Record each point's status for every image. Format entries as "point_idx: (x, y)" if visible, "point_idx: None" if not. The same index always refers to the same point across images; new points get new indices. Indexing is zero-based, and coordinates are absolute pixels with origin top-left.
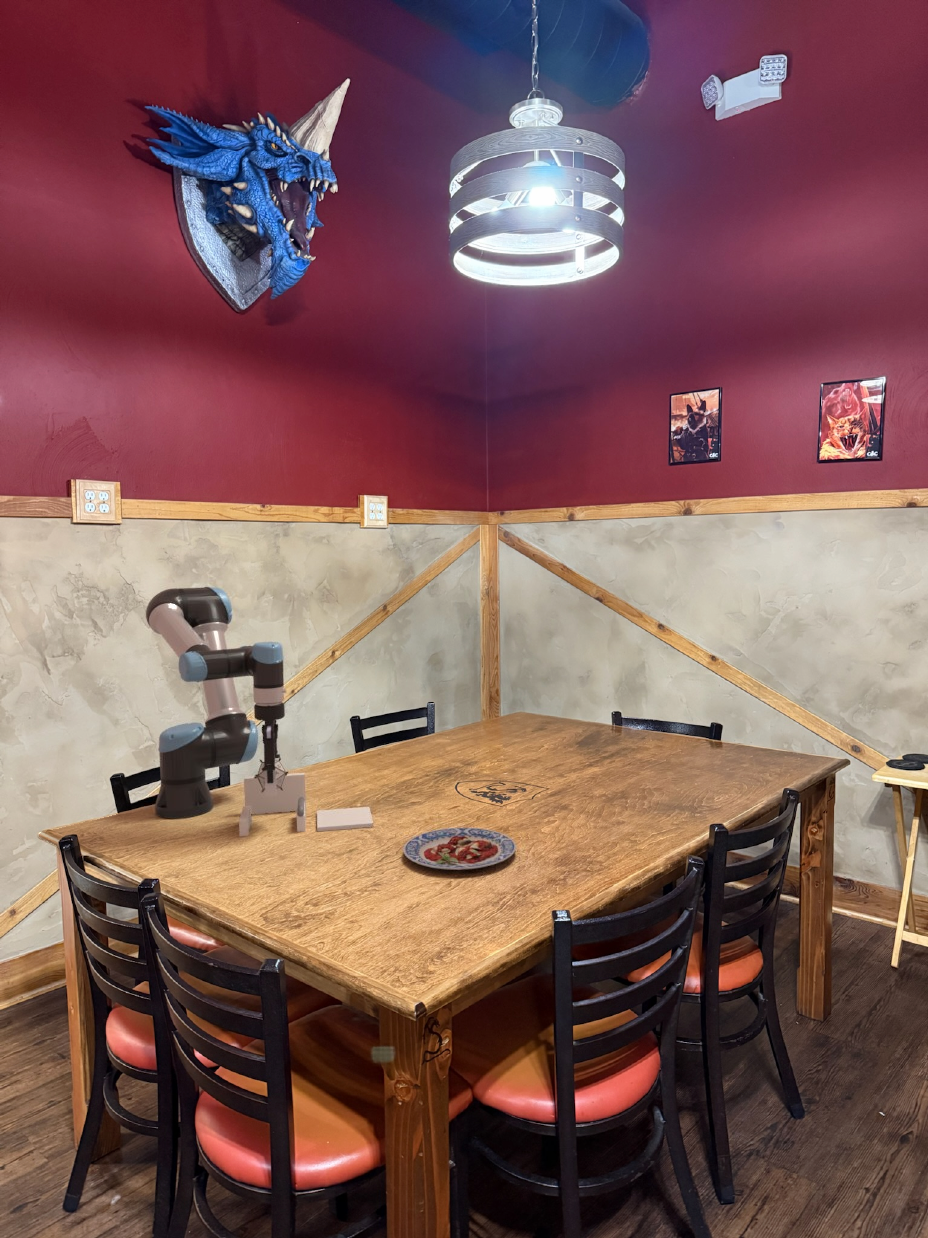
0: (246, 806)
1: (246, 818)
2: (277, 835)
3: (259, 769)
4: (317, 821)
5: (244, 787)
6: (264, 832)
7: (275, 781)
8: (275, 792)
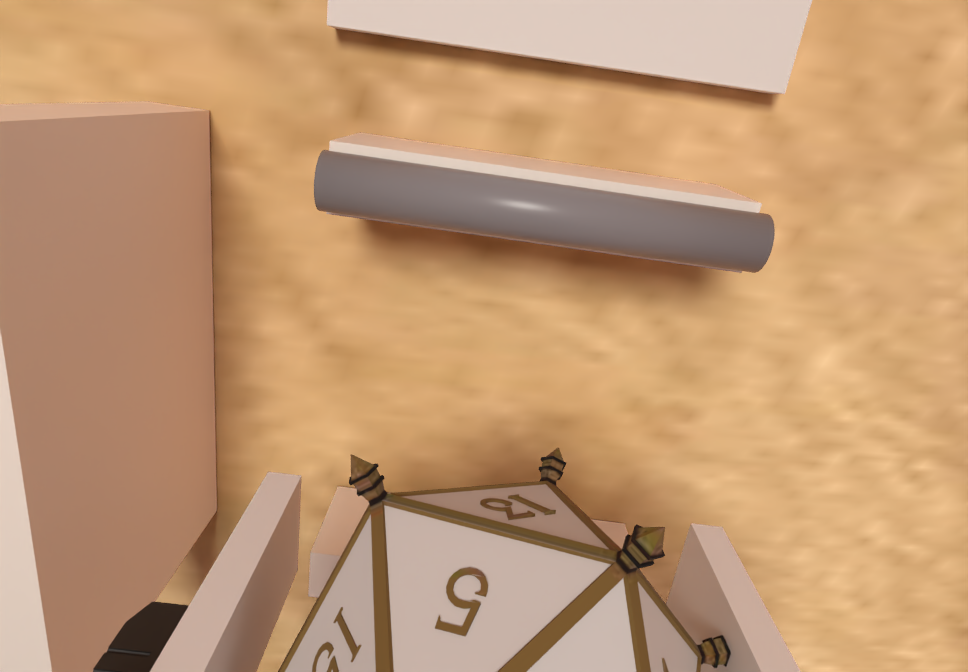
0: (318, 579)
1: None
2: (699, 371)
3: None
4: (630, 68)
5: None
6: (600, 436)
7: (790, 656)
8: (728, 553)
